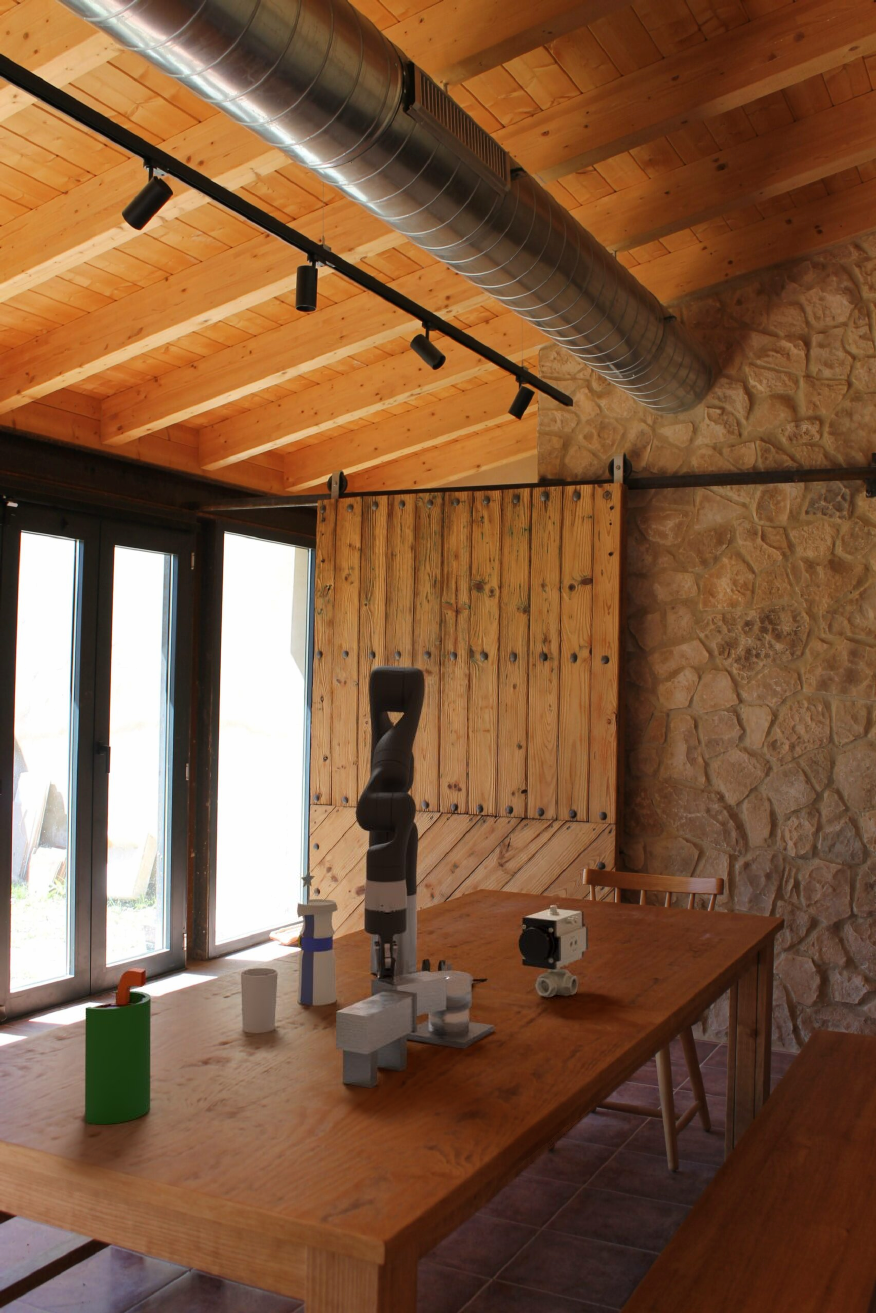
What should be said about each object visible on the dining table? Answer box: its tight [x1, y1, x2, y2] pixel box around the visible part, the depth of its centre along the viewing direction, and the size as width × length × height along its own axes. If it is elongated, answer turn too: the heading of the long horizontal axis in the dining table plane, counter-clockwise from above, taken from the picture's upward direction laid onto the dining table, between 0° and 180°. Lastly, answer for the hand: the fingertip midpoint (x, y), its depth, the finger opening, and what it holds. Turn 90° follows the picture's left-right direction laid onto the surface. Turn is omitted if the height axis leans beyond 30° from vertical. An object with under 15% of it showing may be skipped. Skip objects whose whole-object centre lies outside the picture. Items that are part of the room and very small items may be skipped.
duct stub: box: [407, 1007, 495, 1049], centre depth 194 cm, size 12×12×5 cm
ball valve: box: [518, 904, 589, 998], centre depth 223 cm, size 18×8×18 cm, turn 148°
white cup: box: [240, 967, 279, 1034], centre depth 198 cm, size 7×7×10 cm
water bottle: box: [296, 870, 338, 1006], centre depth 217 cm, size 8×9×25 cm
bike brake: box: [403, 958, 488, 985], centre depth 228 cm, size 14×7×20 cm
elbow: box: [370, 970, 472, 1017], centre depth 191 cm, size 19×8×6 cm, turn 130°
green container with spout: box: [84, 967, 152, 1125], centre depth 156 cm, size 10×9×20 cm
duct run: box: [335, 988, 418, 1089], centre depth 172 cm, size 15×6×11 cm, turn 152°
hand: (385, 1003), depth 193 cm, fingers closed
